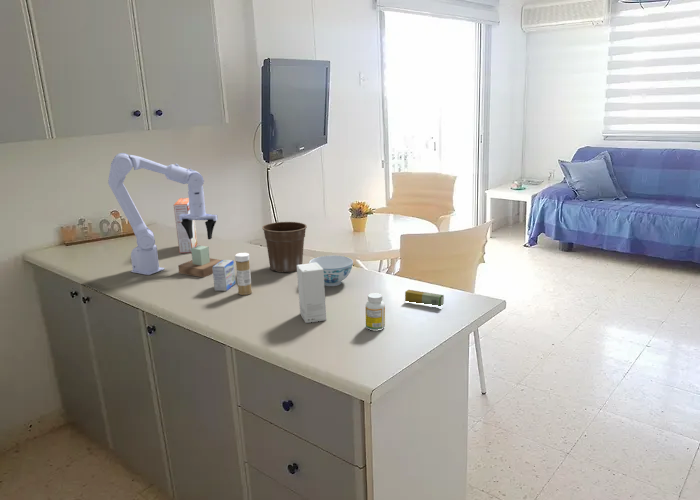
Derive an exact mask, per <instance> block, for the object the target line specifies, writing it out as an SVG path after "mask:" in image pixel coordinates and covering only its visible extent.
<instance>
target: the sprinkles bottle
mask: <svg viewBox="0 0 700 500" xmlns="http://www.w3.org/2000/svg"><path fill="white" fill-rule="evenodd" d="M234 260H235V261H234V262H235V268H236V269H235V270H236V279H237V288H238V289H237V290H238V291H237V293H238V294H239V295H241V296H248V295H251V294H252V293H253V292H252V278H251V268H250V267H251V266H250V253H248V252H238V253H236V254H235V255H234Z"/></svg>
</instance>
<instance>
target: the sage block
mask: <svg viewBox="0 0 700 500" xmlns="http://www.w3.org/2000/svg"><path fill="white" fill-rule="evenodd" d="M209 249H210V248H209V246H205V245H196V247H194V248H191V251H192V252H191V260H192V261H193V264H196V265H204V264H207V263H209V262H210V258H211V257H210V250H209Z"/></svg>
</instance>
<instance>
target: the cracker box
mask: <svg viewBox="0 0 700 500" xmlns="http://www.w3.org/2000/svg"><path fill="white" fill-rule="evenodd" d="M173 211H174V218H175V219H174V220H175V221H174V222H175V229H176V236H177V244H178V251H179V254H187V253H188V254H189V253H190V254H192V251H191V248H194V247H197V246H198V245H197V244H198V238H197V229H196V228H197V227H196V220H193V221H192V231H193V238H192V239H189V237H188V234H187V232H186V230H185V228H184V227H183V225H182V224H181V222H182V220H179V215H181V214H190V207H189V197H180V198H178V199H177V201H176V202H174V204H173Z"/></svg>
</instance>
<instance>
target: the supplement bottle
mask: <svg viewBox="0 0 700 500" xmlns="http://www.w3.org/2000/svg"><path fill="white" fill-rule="evenodd" d="M367 300H368V301H367V302H366V303H365V328H366V329H367V328H368V329H371V330H378V329H382V328H384V327H385V324H386V321H385V320H386V316H385V315H386V304H385V302H384V301H383V300H384V299H383V294H381V293H378V292H371V293H369V294H368V295H367ZM368 329H367V330H368ZM384 329H385V328H384Z"/></svg>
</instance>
